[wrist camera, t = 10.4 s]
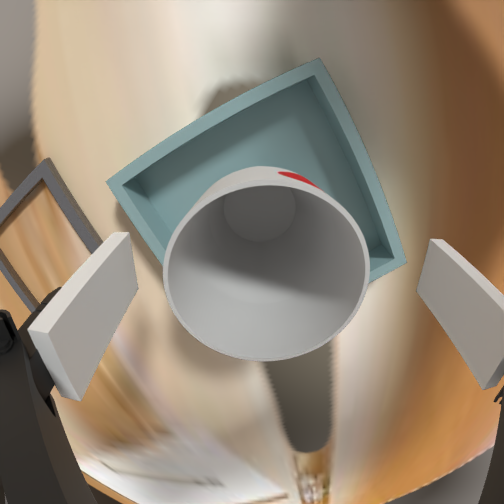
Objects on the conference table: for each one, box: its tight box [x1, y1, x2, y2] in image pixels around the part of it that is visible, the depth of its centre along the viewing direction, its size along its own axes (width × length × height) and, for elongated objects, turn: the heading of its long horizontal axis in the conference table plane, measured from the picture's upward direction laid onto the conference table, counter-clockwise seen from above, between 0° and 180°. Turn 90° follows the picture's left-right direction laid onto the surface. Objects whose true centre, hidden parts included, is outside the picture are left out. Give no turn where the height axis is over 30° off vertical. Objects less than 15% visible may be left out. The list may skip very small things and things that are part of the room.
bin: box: [106, 58, 407, 283], centre depth 20 cm, size 15×15×3 cm
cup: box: [163, 166, 370, 361], centre depth 16 cm, size 8×8×10 cm
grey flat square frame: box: [0, 158, 103, 313], centre depth 22 cm, size 12×12×1 cm
